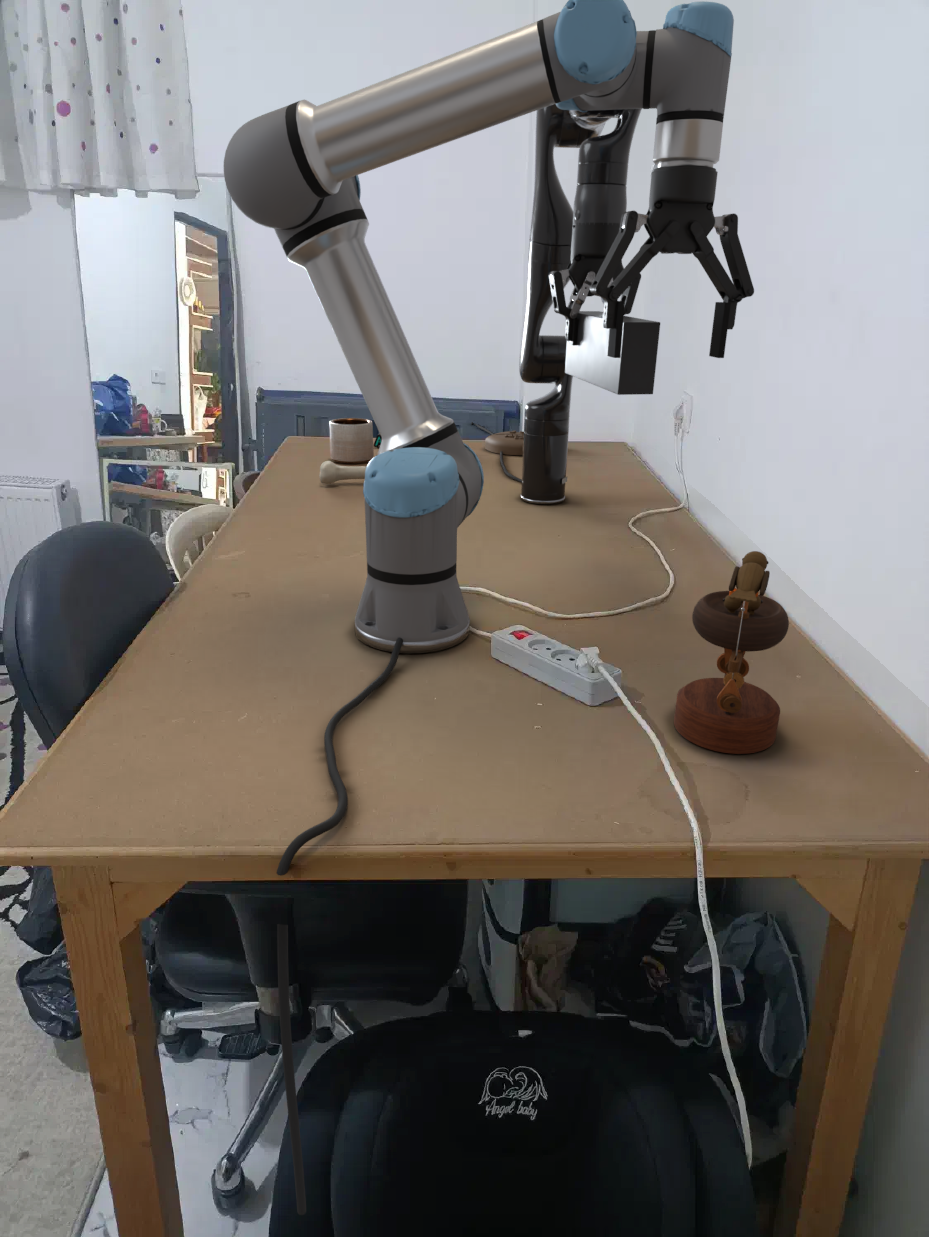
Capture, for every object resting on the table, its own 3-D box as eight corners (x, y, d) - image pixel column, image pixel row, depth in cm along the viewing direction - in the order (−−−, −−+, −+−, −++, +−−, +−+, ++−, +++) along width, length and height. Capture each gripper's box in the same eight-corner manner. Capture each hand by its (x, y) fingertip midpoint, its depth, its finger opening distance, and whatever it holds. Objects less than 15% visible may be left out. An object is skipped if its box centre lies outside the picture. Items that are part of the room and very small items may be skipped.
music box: (796, 766, 83) (813, 573, 76) (681, 766, 84) (687, 577, 77) (763, 694, 97) (775, 526, 90) (665, 695, 98) (669, 530, 91)
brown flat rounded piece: (490, 464, 211) (490, 447, 209) (483, 443, 237) (483, 428, 235) (573, 465, 212) (575, 448, 210) (557, 444, 238) (558, 429, 236)
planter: (327, 456, 217) (325, 418, 214) (369, 454, 220) (368, 417, 217) (334, 465, 208) (332, 425, 204) (377, 463, 211) (376, 424, 207)
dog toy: (407, 478, 195) (407, 457, 193) (410, 485, 190) (410, 462, 188) (319, 480, 192) (318, 458, 190) (319, 487, 186) (318, 464, 185)
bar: (653, 394, 114) (660, 322, 110) (617, 394, 113) (624, 322, 109) (594, 372, 134) (599, 311, 130) (564, 373, 133) (568, 311, 129)
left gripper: (769, 174, 104) (744, 354, 112) (572, 166, 100) (561, 354, 108) (801, 167, 97) (772, 360, 105) (591, 159, 93) (578, 359, 101)
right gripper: (635, 223, 126) (625, 342, 133) (543, 220, 123) (537, 342, 130) (656, 221, 120) (644, 347, 126) (559, 219, 117) (552, 347, 123)
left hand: (665, 357), depth 106 cm, fingers open, 13 cm apart
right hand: (590, 344), depth 128 cm, fingers closed on bar, 5 cm apart
